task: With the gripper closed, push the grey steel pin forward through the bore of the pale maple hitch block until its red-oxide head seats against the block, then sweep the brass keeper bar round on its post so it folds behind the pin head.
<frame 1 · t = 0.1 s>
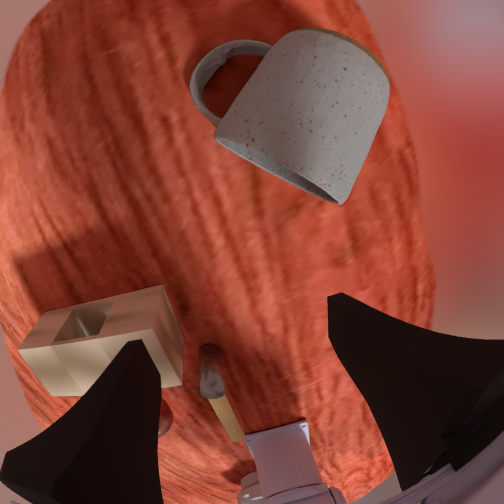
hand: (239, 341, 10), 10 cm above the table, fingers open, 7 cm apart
pin: (129, 393, 19), point 3 cm above the table, slide at 0.0 cm
hitch block: (108, 325, 20), on the table
flag stand: (271, 476, 36), on the table
ceramic mug: (269, 111, 17), on the table
keeper bar: (224, 399, 22), point 2 cm above the table, hinge at 0.0°
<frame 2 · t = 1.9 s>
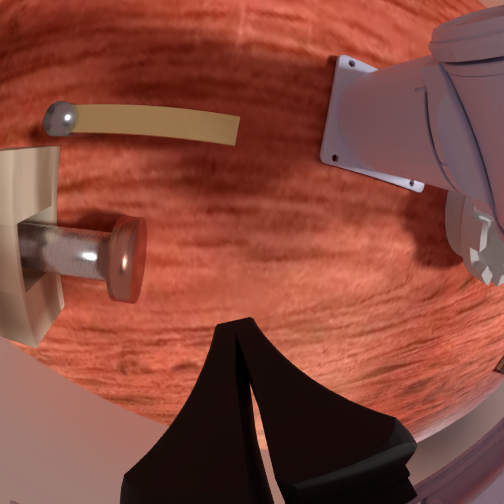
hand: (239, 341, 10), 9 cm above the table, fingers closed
pin: (73, 252, 14), point 3 cm above the table, slide at 0.0 cm
hitch block: (31, 229, 15), on the table
flag stand: (474, 205, 21), on the table
keeper bar: (141, 122, 13), point 2 cm above the table, hinge at 0.0°
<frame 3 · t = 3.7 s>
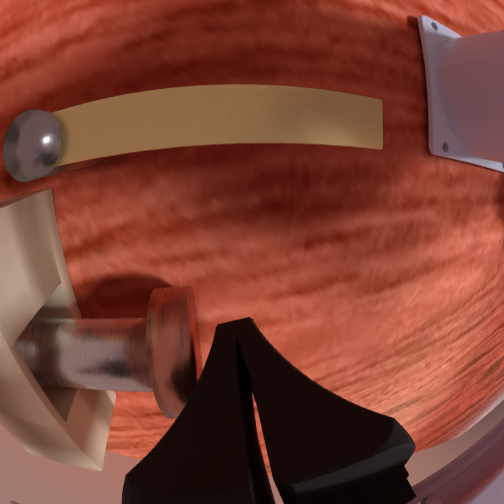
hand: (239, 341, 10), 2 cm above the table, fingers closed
pin: (91, 354, 9), point 3 cm above the table, slide at 1.2 cm, touching gripper
hitch block: (43, 313, 11), on the table
keeper bar: (190, 123, 7), point 2 cm above the table, hinge at 0.0°
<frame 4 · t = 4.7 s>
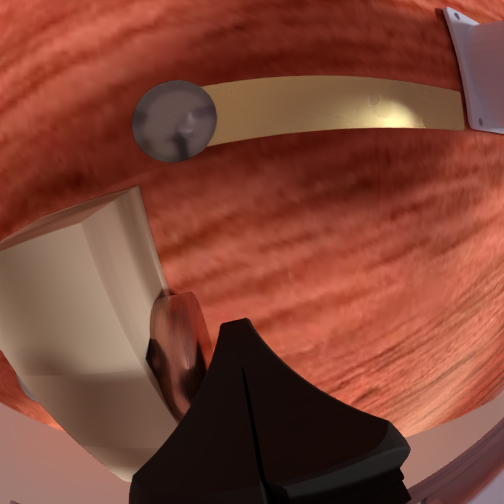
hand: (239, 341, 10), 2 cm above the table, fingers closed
pin: (105, 369, 9), point 3 cm above the table, slide at 5.8 cm, touching gripper, hitch block
hitch block: (129, 326, 12), on the table
keeper bar: (316, 109, 8), point 2 cm above the table, hinge at 0.0°
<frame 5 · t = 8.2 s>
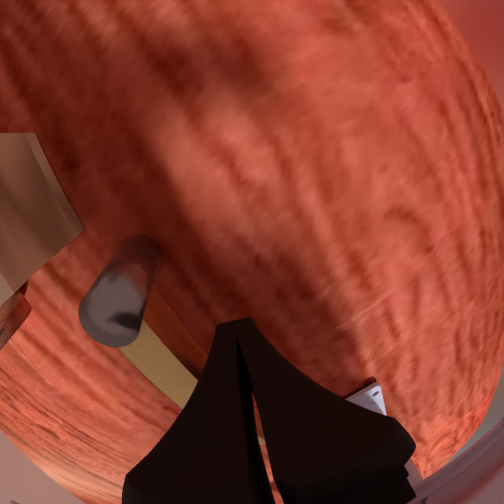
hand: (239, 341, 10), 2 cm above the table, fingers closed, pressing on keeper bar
keeper bar: (191, 361, 10), point 2 cm above the table, hinge at 0.0°, touching gripper
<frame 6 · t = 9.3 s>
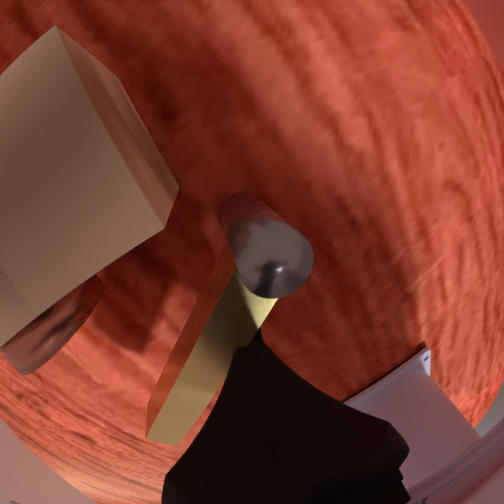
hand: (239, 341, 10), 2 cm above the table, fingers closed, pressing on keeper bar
hitch block: (35, 217, 9), on the table
keeper bar: (202, 334, 9), point 2 cm above the table, hinge at 56.0°, touching gripper
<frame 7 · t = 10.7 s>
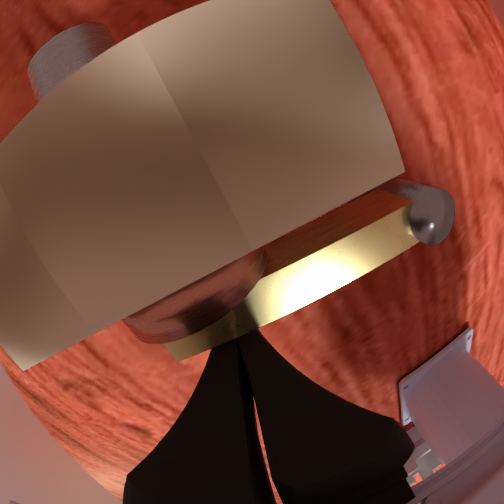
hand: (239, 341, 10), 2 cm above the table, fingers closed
pin: (121, 164, 7), point 3 cm above the table, slide at 5.8 cm, touching hitch block, keeper bar
hitch block: (149, 170, 10), on the table
flag stand: (407, 441, 25), on the table
keeper bar: (300, 249, 9), point 2 cm above the table, hinge at 92.0°, touching gripper, pin
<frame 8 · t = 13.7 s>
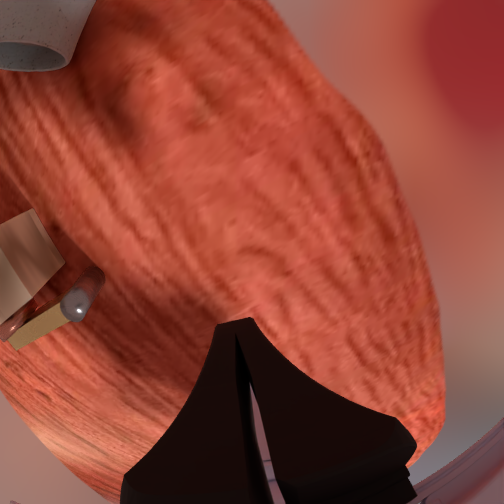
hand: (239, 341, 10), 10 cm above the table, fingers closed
hitch block: (11, 270, 17), on the table
ceramic mug: (50, 31, 11), on the table
keeper bar: (50, 312, 16), point 2 cm above the table, hinge at 91.9°, touching pin
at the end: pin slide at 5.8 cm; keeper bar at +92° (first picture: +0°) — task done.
